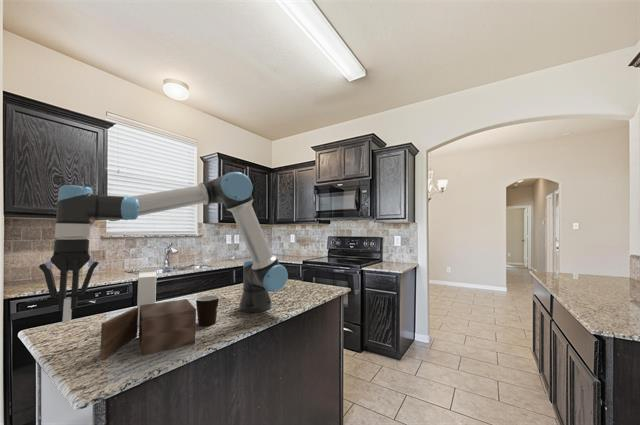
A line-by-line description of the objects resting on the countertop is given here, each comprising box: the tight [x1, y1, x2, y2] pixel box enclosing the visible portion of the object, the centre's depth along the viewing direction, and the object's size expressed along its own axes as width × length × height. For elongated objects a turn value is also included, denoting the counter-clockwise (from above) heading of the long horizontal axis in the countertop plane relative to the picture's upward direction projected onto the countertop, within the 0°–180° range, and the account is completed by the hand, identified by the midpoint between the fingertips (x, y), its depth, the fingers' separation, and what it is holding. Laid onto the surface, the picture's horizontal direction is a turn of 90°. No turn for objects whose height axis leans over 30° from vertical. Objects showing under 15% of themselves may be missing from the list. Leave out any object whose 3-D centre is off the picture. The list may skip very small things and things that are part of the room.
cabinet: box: [138, 298, 197, 356], centre depth 92 cm, size 15×17×11 cm
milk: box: [136, 267, 157, 327], centre depth 110 cm, size 6×6×22 cm
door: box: [99, 307, 139, 360], centre depth 87 cm, size 2×17×10 cm, turn 5°
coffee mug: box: [195, 295, 220, 327], centre depth 110 cm, size 12×9×10 cm
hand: (66, 321), depth 78 cm, fingers closed
